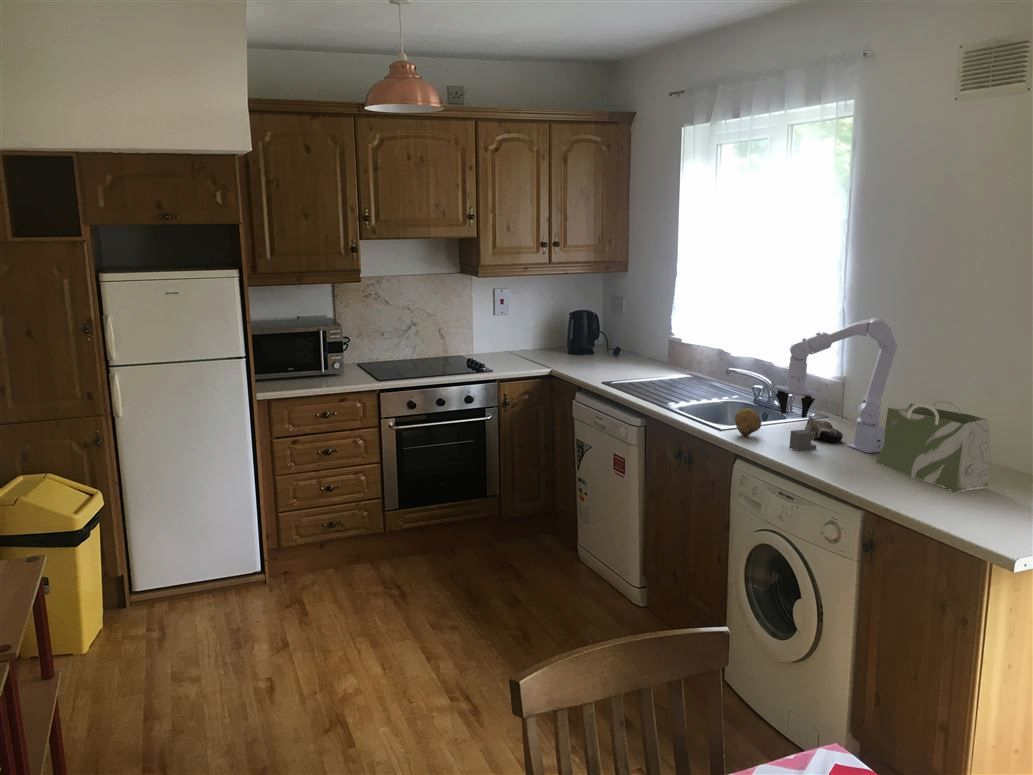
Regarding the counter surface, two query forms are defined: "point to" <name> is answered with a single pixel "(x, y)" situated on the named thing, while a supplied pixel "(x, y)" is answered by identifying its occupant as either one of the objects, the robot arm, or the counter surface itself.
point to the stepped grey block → (801, 440)
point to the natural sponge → (747, 421)
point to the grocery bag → (937, 445)
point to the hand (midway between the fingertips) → (793, 415)
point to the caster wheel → (823, 430)
